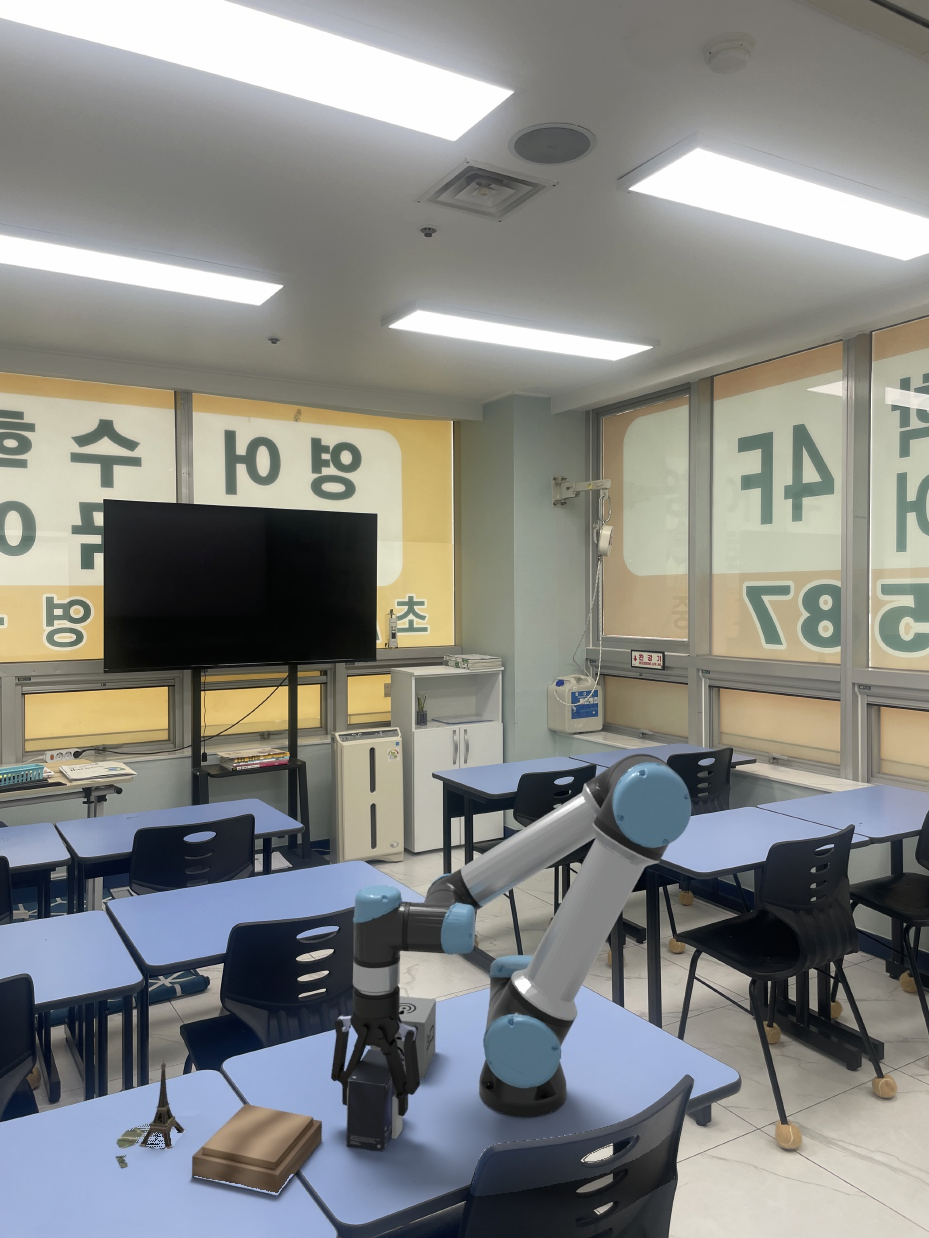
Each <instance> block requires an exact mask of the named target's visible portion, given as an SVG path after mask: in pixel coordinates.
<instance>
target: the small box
mask: <svg viewBox="0 0 929 1238" xmlns="http://www.w3.org/2000/svg"><path fill="white" fill-rule="evenodd" d="M399 1055H400V1058H401V1061H402V1055H403V1054H400V1053H399ZM395 1092H396V1089H395V1086H394V1083H393V1079H392V1076H391V1073H390V1070H389V1067H388V1064H387V1061H386V1057H385V1055H383V1053H382V1051H379V1050H372V1049H370V1048H368V1049H367V1051H366V1052H365V1054H363V1056H362V1058H361V1061H360V1063H359V1064H358V1066H357V1067H356V1069H355V1070H354V1072H353V1073H352V1075H351V1076H350V1078H349V1079H348V1107H347V1106H346V1111H347V1110H348V1114H347V1113H346V1141H345V1142H346V1144H345V1146H346V1147H351V1148H357V1149H365V1150H371V1151H377V1152H378V1151H379V1152H383V1151H384V1150H385V1148H386V1146H387V1144H388V1142H389V1140H390V1138H391V1137H392V1097H393V1095H394V1094H395Z"/></svg>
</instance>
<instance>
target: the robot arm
mask: <svg viewBox="0 0 929 1238" xmlns="http://www.w3.org/2000/svg"><path fill="white" fill-rule="evenodd" d="M689 792H690V791H689V789H688V787H687V785H686V783H685V781H684V780H683V779H682V777H681V776H680V775H679V774H678V773H677V772H676V771H674V770H673V769H672V768H671V767H670V766H669V764H668V763H667V762H665V761H664V760H663V759H661V758H659V757H657V756H655V755H653V754H649V753H634V754H630V755H627V756H625V757H623V758H621V759H619V760H618V761H616V762H615V763H613V764H612V765H610V766H609V767H607V768H606V769H604V770H603V771H602V772H600V773H598V774H597V775H596V776H595V777H593V778H591V779H589V780H588V781H587V782H585V783H584V784H583V788H582V791H581V793H579V794H577V795H576V796H574V797H572V798H571V799H569V800H568V801H566V802H564V803H562V804H561V805H560V806H559V807H556V808H555V809H554V810H551V811H550V812H548V813H546V814H544V815H543V816H542V817H541V818H539V819H537V820H535V821H534V822H532V823H531V824H529V825H527V826H526V827H524V828H522V829H520V831H518V832H516V833H515V834H513V835H512V836H510V837H508V838H506V839H505V840H504V841H502V842H500V843H499V844H496V846H493V847H492V848H491V849H489V850H488V851H485V852H484V853H482V854H481V855H480V856H478V857H476V858H475V859H473V860H472V861H470V862H468V863H466V864H465V865H463V866H462V867H460V869H457V870H455V871H454V872H452V873H445V874H441V875H440V876H438V877H437V878H436V879H435V880H434V881H433V882H432V883H431V884H430V886H429V887H428V889H427V892H426V895H425V899H424V901H423V902H412V901H403V898H402V893H401V891H400V889H399V888H397V887H395V886H389V885H386V884H375V885H374V884H373V885H369V886H365V887H363V888H361V889H360V890H359V891H357V893H356V894H355V896H354V897H355V898H354V910H353V912H354V913H353V918H352V923H353V965H352V966H353V967H352V968H353V969H352V985H353V989H352V1014H351V1015H346V1014H345V1013H341V1015H340V1016H339V1017H338V1018H336V1020H334V1023H333V1025H334V1029H335V1042H334V1051H333V1056H332V1058H333V1060H332V1065H331V1067H332V1068H331V1073H330V1074H331V1075H330V1079H331V1080H332V1081H333V1082H338V1083H340V1084H341V1087H342V1088H341V1089H342V1091H341V1093H342V1094H341V1102H342V1105H343V1106H346V1108H347V1107H348V1079H349V1078H350V1076H351V1075H352V1073H353V1072H354V1070H355V1069H356V1067H357V1066H358V1064H359V1063H360V1061H361V1060H362V1058H363V1057H364V1053H365V1050H366V1047H370V1046H376V1047H378V1048H381V1050H382V1053H383V1055H385V1057H386V1061H387V1064H388V1067H389V1070H390V1073H391V1076H392V1079H393V1083H394V1086H395V1089H396V1092H395V1094H394V1095H393V1097H392V1134H391V1139H395V1140H397V1139H398V1137H399V1135H400V1134H401V1132H403V1120H404V1116H405V1115H406V1113H407V1112H408V1110H409V1095H410V1096H411V1095H412V1096H413V1095H415V1093H416V1092H417V1090H418V1089H419V1087H420V1086H421V1081H420V1080H421V1078H419V1068H418V1058H417V1048H416V1037H417V1032H418V1027H417V1026H416V1025H412V1026H411V1027H410V1026H407V1025H405V1024H402V1021H401V1019H400V1016H399V1009H400V996H401V994H400V993H401V992H400V991H401V988H400V986H399V985H400V982H401V952H411V953H413V952H415V953H431V954H432V953H433V954H447V955H451V956H452V955H456V954H457V955H459V954H462V955H463V954H470V953H471V952H472V951H473V950H474V948H475V939H476V912H477V911H479V910H480V909H481V908H484V906H486V905H488V904H489V903H491V902H493V901H494V900H496V899H498V898H499V897H501V896H503V895H504V894H506V893H507V892H509V891H511V890H512V889H514V888H515V887H517V886H519V885H520V884H522V883H524V882H525V881H527V880H529V879H530V878H532V877H533V876H535V875H536V874H538V873H540V872H542V871H544V870H545V869H547V868H548V867H549V866H551V865H553V864H555V863H557V862H558V861H560V860H561V859H563V858H564V857H566V856H567V855H569V854H571V853H572V852H574V851H576V850H577V849H579V848H580V847H582V846H584V845H585V844H587V843H589V842H591V841H592V840H593V839H595V840H593V843H592V845H591V847H590V848H589V851H588V852H587V855H586V856H585V858H584V860H583V862H582V864H581V865H580V867H579V869H578V872H577V873H576V875H575V877H574V878H573V881H572V882H571V884H570V886H569V888H568V890H567V892H566V893H565V894H564V895H565V896H564V897H563V900H562V901H561V903H560V904H559V906H558V908H557V911H556V913H555V914H554V917H553V918H552V920H551V922H550V924H549V925H548V927H547V929H546V931H545V933H544V935H543V937H542V939H541V941H540V943H539V945H538V946H537V949H536V950H535V952H534V954H533V955H527V954H526V955H523V954H522V955H520V954H515V955H506V956H502V957H498V958H496V959H495V960H493V961H492V962H491V965H490V970H489V971H490V972H489V974H488V977H489V979H490V980H489V1001H488V1009H487V1018H486V1024H485V1026H486V1027H485V1031H484V1034H483V1040H482V1042H483V1049H484V1058H485V1060H484V1063H483V1066H482V1069H481V1072H480V1075H479V1079H478V1080H479V1081H478V1082H479V1083H478V1086H479V1087H478V1095H479V1098H480V1099H481V1101H482V1102H483V1104H485V1105H486V1106H487V1107H489V1109H491V1110H493V1111H495V1112H497V1113H500V1114H503V1115H505V1116H511V1117H518V1118H536V1117H543V1116H546V1115H549V1114H552V1113H554V1112H556V1111H557V1109H558V1110H559V1109H561V1107H562V1106H564V1104H565V1102H566V1100H567V1079H566V1077H565V1073H564V1069H563V1067H562V1063H561V1059H562V1045H563V1042H564V1040H566V1038H567V1035H568V1034H569V1032H570V1030H571V1028H572V1026H573V1023H574V1022H575V1020H576V1019H577V1016H578V1010H577V1009H578V1008H577V1006H576V1001H575V998H576V997H577V995H578V993H579V992H580V989H581V987H582V985H583V983H584V982H585V980H586V978H587V976H588V974H589V972H590V970H591V968H592V967H593V965H594V963H595V961H596V959H597V958H598V956H599V954H600V952H601V950H602V948H603V946H604V944H605V943H606V941H607V939H608V937H609V935H610V933H611V931H612V930H613V928H614V926H615V924H616V922H617V920H618V919H619V917H620V915H621V914H622V911H623V910H624V907H625V906H626V903H627V901H628V900H629V897H630V895H631V894H632V892H633V890H634V889H635V887H636V884H637V883H638V880H639V879H640V877H641V876H642V873H643V872H644V870H645V868H646V867H648V866H651V865H654V864H659V863H660V861H661V859H662V858H663V856H664V854H665V852H666V851H667V850H668V847H669V845H670V844H672V843H673V842H675V841H676V840H677V839H679V838H680V837H681V836H682V834H684V832H685V831H686V829H687V827H688V825H689V822H690V820H691V815H692V802H691V796H690V793H689ZM351 1027H352V1028H353V1030H354V1032H355V1033H356V1035H357V1038H356V1040H355V1042H354V1045H353V1050H352V1052H351V1056H350V1058H349V1061H348V1064H347V1066H346V1060H347V1051H348V1044H349V1043H348V1042H349V1035H350V1030H351ZM398 1032H400V1033H401V1038H402V1041H404V1059H405V1069H406V1073H405V1070H404V1067H403V1064H402V1061H401V1058H400V1055H399V1051H398V1048H397V1040H396V1037H395V1035H396V1034H397V1033H398ZM345 1066H346V1067H345ZM345 1068H346V1069H345ZM555 1110H556V1111H555ZM347 1114H348V1110H347V1109H346V1115H347Z"/></svg>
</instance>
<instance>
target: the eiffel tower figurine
mask: <svg viewBox="0 0 929 1238" xmlns="http://www.w3.org/2000/svg"><path fill="white" fill-rule="evenodd" d="M164 1060H165V1058H164V1056H163V1059H162V1064H161V1066H160V1068H161V1071H160V1072H161V1074H160V1087H159V1096H158V1102H157V1106H156V1107H155V1108H156V1112H155V1114H154V1118H153V1120H152V1121H151V1123H150V1122H149V1123H150V1124H149V1126H150V1128H137V1127H139V1126H140V1127H141V1125H139V1126H134V1127H132V1128H130V1129H131V1130H130V1131H129V1129H127V1130H125V1131H124V1133H122V1134H121V1136H120V1137H119V1138H117V1140H116V1145H117V1147H118V1148H121V1149H124V1150H125V1149H127V1148H130V1147H134V1146H135V1145H136V1144H139V1145H138V1146H140V1148H147V1147H149V1146H146V1145H159V1144H160V1143H159V1144H158V1143H157V1144H156V1143H155V1144H154V1143H150V1144H149V1143H148V1141H150V1140H148V1139H149V1137H152V1135H153V1133H154V1134H155V1133H156V1132H157V1133H158V1134H159V1133H160V1134H162V1137H163V1138H164V1142H165V1143H164V1144H165V1147H164V1148H162V1149H161V1148H160V1149H159V1150H164V1149H165V1148H167V1149H170V1148H171V1146H172V1144H171V1138H170V1132H171V1129H173V1128H174V1129H176V1130H177V1131H178V1132H177V1133H183V1132H184V1130H186V1129H185V1128H184V1127H183V1126H182V1125H181V1124H180V1123H179V1122H178V1121H177V1120H176V1117H175V1116H173V1115H174V1114H173V1112H172V1111H171V1107H170V1103H169V1101H168V1100H169V1099H168V1092H167V1078H166V1066H167V1065H166V1063H165V1061H164ZM146 1124H147V1123H145V1126H146ZM142 1125H143V1126H144V1124H142ZM143 1126H142V1127H143ZM145 1126H144V1127H145ZM147 1126H148V1124H147ZM147 1126H146V1127H147ZM149 1126H148V1127H149ZM133 1128H134V1129H133ZM132 1129H133V1130H132ZM140 1129H149V1130H140ZM145 1131H146V1132H145ZM147 1131H148V1132H147ZM142 1133H143V1134H142ZM144 1133H147V1134H146V1136H145V1134H144ZM157 1133H156V1134H157ZM156 1134H155V1135H153V1137H154V1136H155V1137H156V1136H157V1137H161V1136H158V1134H157V1135H156ZM160 1134H159V1135H160ZM143 1135H144V1136H143ZM136 1137H137V1138H136ZM138 1137H139V1139H141V1138H140V1137H144V1139H143V1138H142V1139H143V1141H141V1142H138V1141H139V1139H138ZM157 1137H156V1138H157ZM156 1138H155V1141H156V1140H157V1139H158V1138H157V1139H156ZM150 1139H151V1138H150ZM137 1140H138V1141H137ZM136 1141H137V1142H136ZM151 1141H152V1140H151ZM151 1141H150V1142H151ZM153 1141H154V1140H153ZM153 1141H152V1142H153ZM155 1141H154V1142H155ZM158 1141H159V1140H158ZM160 1141H161V1140H160ZM160 1141H159V1142H160ZM162 1141H163V1140H162ZM162 1141H161V1142H162ZM135 1143H136V1144H135ZM147 1143H148V1144H147ZM162 1144H163V1143H162ZM152 1147H153V1146H152ZM154 1147H156V1146H154ZM154 1147H153V1148H151V1146H150V1147H149V1148H147V1149H155V1148H154ZM157 1147H158V1146H157ZM159 1147H160V1146H159ZM161 1147H162V1146H161ZM124 1155H125V1156H124ZM124 1155H116V1156H115V1159H116V1160H117V1163H119V1165H120V1167H121V1168H127V1167H129V1165H128V1163H127V1162H126V1160H125V1158H126V1157H127V1156H126V1155H127V1154H124Z"/></svg>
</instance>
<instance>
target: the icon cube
mask: <svg viewBox="0 0 929 1238" xmlns="http://www.w3.org/2000/svg"><path fill="white" fill-rule="evenodd" d="M436 1012H437V999H435V998H427V997H426V998H425V997H413V996H402V995H400V1009H399V1016H400V1019H401V1021H402V1024H405V1025H407V1026H410V1027H411V1026H412V1025H416V1026H417V1027H418V1032H417V1037H416V1048H417V1058H418V1068H419V1078H420V1079H421V1080H424V1079H425V1077H426V1075H427V1073H428V1070H429V1068H430V1066H431V1063H432V1061H431V1060H433V1059H434V1056H435V1054H434V1052H435V1053H436V1034H437V1033H436V1028H437V1027H436V1024H437V1023H436V1021H437V1020H436V1019H437V1018H436V1015H437V1013H436ZM395 1037H396V1040H397V1048H398V1051H399V1053H400V1054H403V1055H402V1064H403V1067H404V1070H405V1073H406V1069H405V1059H404V1041H402V1038H401V1033H400V1032H398V1033H397V1034H396V1035H395ZM369 1049H372V1050H379V1051H382V1050H381V1048H378V1047H376V1046H369ZM433 1055H434V1056H433ZM432 1058H433V1059H432ZM429 1065H430V1066H429Z"/></svg>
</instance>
